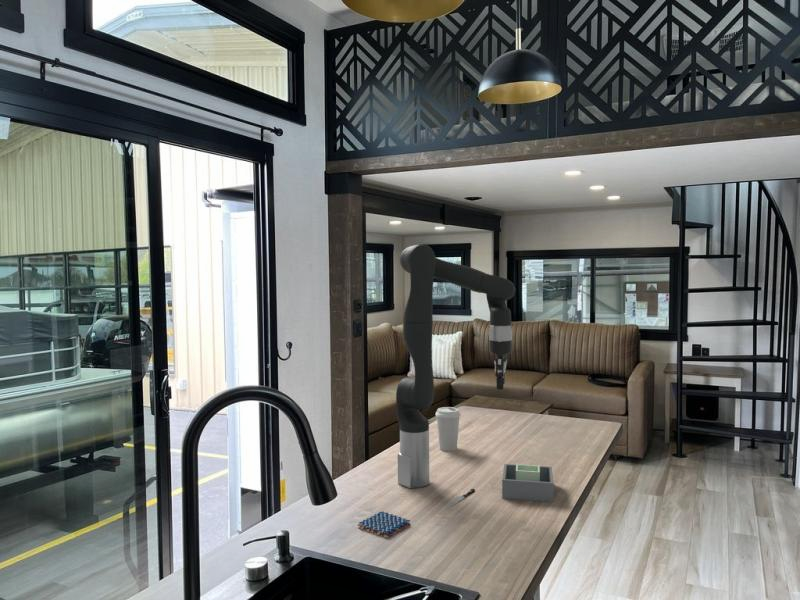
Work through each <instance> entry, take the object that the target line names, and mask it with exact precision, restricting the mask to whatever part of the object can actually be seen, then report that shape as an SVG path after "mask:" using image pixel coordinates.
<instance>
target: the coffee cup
mask: <svg viewBox="0 0 800 600" xmlns="http://www.w3.org/2000/svg"><path fill="white" fill-rule="evenodd" d="M461 415H462V414H461V412H460V410H459V408H457V407H453V406H451V407H450V406H444V407H438V408H437V410H436V411H435V416H436V422H437V434H438V435H437V436H438V445H439V450H440V449H441V450H440V451H442V450H444V451H443V452H454V451H453V450H455V451H456V449H458V437H459V436H458V435H459V425H460V417H461Z"/></svg>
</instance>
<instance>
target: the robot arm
mask: <svg viewBox="0 0 800 600" xmlns="http://www.w3.org/2000/svg"><path fill="white" fill-rule="evenodd" d="M399 262H400V266H401V267H402V269H403V271H405V272H407V273H409V274H410V290H409V295H408V299H407V301H406V305H405V309H404V312H403V319H402V321H403V323H402V324H403V325H402V337H403V341H404V344H405V346H406V348H407V350H408V353H409V355H410V357H411V359H412V363H413V367H414V377H404V378H402V379H401V380H400V381H399V382H398V384H397V388H396V391H395V400H396V401H395V402H396V416H397V418H396V419H397V421H398V424H399V453H397V484H399V485H402V486H404V487H406V488H408V489H413V488H414V489H415V488H424V487H426V486H429V484H430V423H429V419H427V418H426V417H425V416H424V415H423V414H422V413H421V411H426V410H428V409H430V408H431V406H432V405H433V402H434V397H435V384H434V382H435V381H434V370H433V327H434V326H433V323H434V321H433V319H434V318H433V303H434V301H433V298H434V297H433V296H434V295H433V292H434V291H433V290H434V289H433V288H434V281H435V280H434V279H438V280H442V281H445V282H447V283H450V284H452V285H455V286H457V287H461V288H463V289H466V290H468V291H469V290H470V291H472V292H476V293H478V294H485V296H486V302H487V307H488V309H489V330H488V332H489V334H488V335H489V336H488V337H489V339H488V341H489V343H488V344H489V347H488V351H489V353H490V354H493V355H494V354H495V355H496V357H494V359H493V360H494V362H493V363H494V372H495V379H496V390H504V385H505V383H506V381H505V380H506V379H505V375H506V369H507V363H508V362H507V361H508V360H507V359H508V358H507V357H506V355H508V354H509V355H510V354H512V352H513V330H512V312H511V309H510V308H509V307H507V303H506V301H509V300H511V299H512V298H513V297H514V296H515V294H516V287H515V284H514V283H513V282H512V280H509V279H507V278H505V277H500V276H497V275H494V274H489V273H486V272H484V271H481V270H479V269H477V268H473V267H471V266H468V265H463V264H458V263H456V262H455V263H454V262H450V261H446V260H444V259H440V258H437V257H436V254H435V251H434V250H433V249H432V248H431V246H429V245H427V244H423V243H422V244H415V245H414V244H413V245H410V246H408V247H406V248H404V250H402V252H401V254H400V256H399ZM420 410H421V411H420Z"/></svg>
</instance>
